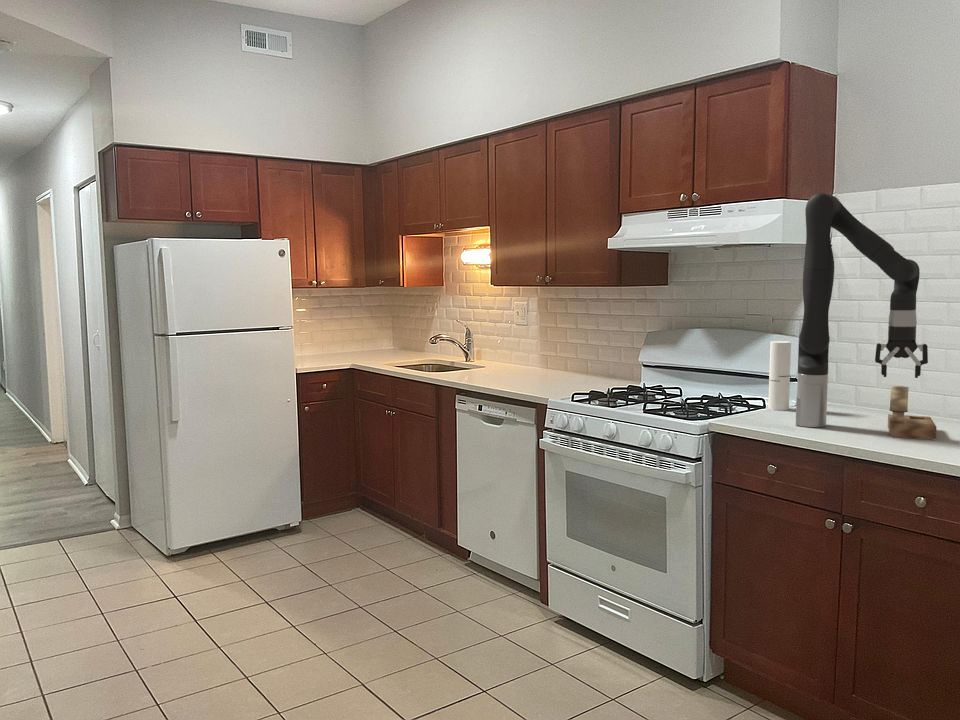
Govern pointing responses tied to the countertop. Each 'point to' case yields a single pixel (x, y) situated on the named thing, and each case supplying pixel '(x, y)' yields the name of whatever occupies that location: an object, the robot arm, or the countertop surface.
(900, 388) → the peg
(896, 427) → the board
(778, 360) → the cylindrical container
